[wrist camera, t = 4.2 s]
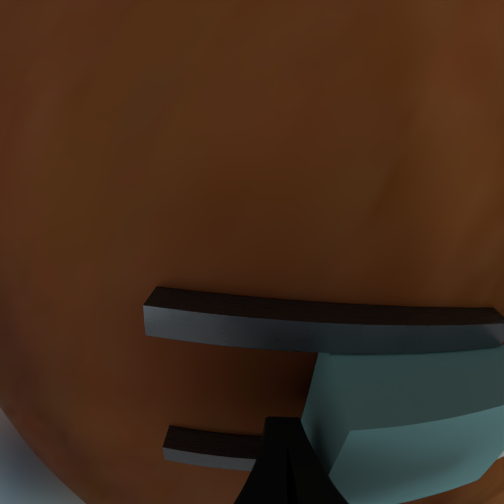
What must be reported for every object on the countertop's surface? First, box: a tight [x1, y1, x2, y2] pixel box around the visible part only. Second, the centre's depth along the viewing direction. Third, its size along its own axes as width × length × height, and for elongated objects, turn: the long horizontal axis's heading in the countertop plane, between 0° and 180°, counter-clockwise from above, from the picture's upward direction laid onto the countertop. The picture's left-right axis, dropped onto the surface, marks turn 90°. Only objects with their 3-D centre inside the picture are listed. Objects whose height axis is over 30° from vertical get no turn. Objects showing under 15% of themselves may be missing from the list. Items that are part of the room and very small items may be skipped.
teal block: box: [301, 344, 504, 504], centre depth 10 cm, size 6×9×5 cm, turn 86°
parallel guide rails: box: [143, 287, 504, 471], centre depth 12 cm, size 9×15×2 cm, turn 85°
